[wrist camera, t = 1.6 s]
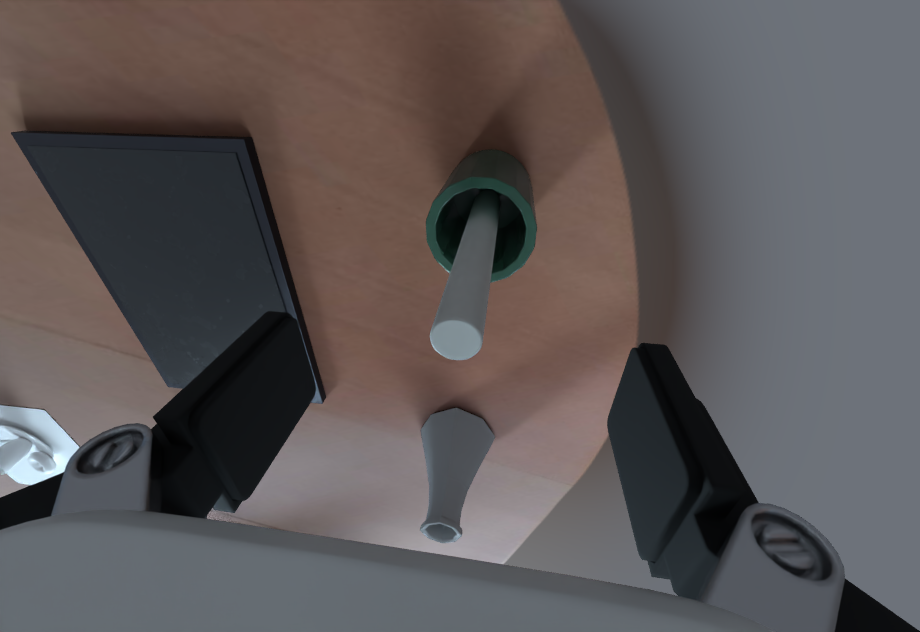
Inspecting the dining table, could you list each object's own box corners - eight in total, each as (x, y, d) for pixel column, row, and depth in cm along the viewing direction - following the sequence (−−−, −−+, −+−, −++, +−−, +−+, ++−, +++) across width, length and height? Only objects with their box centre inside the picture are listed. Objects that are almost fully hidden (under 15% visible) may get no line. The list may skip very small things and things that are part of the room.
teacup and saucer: (73, 465, 53) (42, 491, 49) (25, 459, 54) (-7, 484, 50) (32, 425, 48) (-4, 451, 45) (-19, 419, 49) (-58, 444, 45)
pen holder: (447, 147, 22) (423, 175, 17) (536, 150, 22) (543, 179, 16) (448, 232, 25) (428, 279, 20) (526, 236, 25) (529, 286, 19)
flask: (459, 461, 40) (443, 562, 32) (409, 426, 38) (379, 525, 30) (508, 436, 37) (505, 541, 28) (456, 396, 34) (436, 498, 26)
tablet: (24, 130, 25) (8, 132, 25) (252, 137, 24) (242, 139, 23) (174, 381, 39) (167, 387, 38) (326, 397, 37) (322, 404, 36)
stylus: (476, 183, 23) (428, 316, 11) (502, 184, 23) (483, 320, 10) (475, 208, 24) (430, 358, 11) (500, 209, 24) (481, 363, 11)
